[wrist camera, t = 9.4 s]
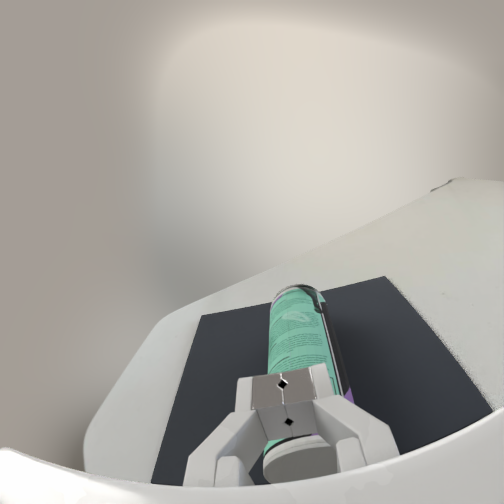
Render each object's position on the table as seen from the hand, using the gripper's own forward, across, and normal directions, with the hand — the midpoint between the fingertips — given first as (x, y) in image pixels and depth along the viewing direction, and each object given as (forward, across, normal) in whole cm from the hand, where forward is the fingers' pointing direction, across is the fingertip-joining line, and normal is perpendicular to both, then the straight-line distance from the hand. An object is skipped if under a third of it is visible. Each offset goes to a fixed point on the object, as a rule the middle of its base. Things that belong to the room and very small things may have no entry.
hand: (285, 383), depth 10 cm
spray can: (0, 0, +7) cm, 7 cm away
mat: (+13, -1, +11) cm, 17 cm away
